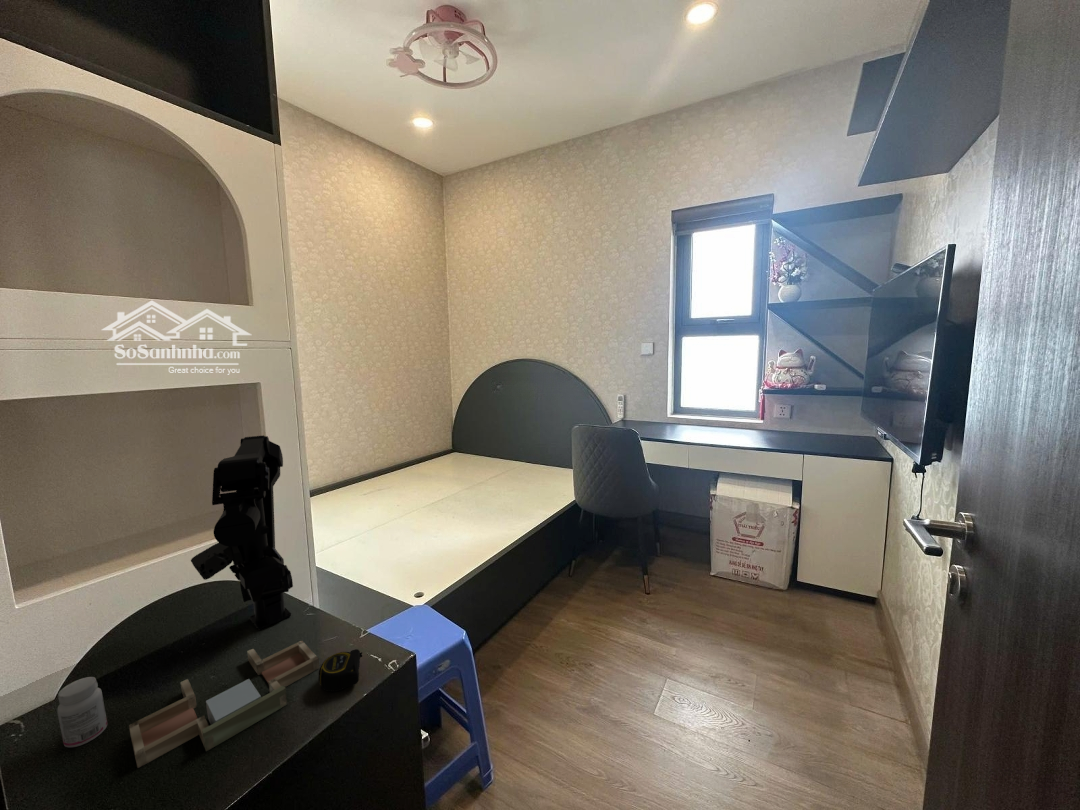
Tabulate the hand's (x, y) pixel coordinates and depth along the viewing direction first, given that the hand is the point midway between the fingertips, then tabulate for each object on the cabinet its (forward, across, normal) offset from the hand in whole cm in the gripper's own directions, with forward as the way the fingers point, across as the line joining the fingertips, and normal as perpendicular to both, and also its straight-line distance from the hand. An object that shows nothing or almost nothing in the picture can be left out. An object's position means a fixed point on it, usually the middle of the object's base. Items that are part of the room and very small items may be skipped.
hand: (256, 600), depth 82 cm
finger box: (+11, +9, -6) cm, 16 cm away
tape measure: (+12, +19, +8) cm, 24 cm away
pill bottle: (+12, -1, -24) cm, 27 cm away
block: (+12, +13, -7) cm, 19 cm away
